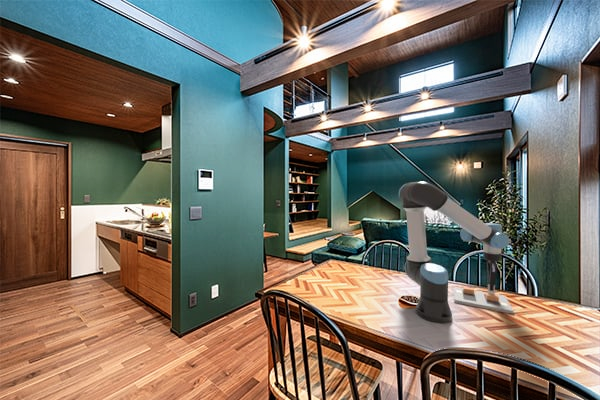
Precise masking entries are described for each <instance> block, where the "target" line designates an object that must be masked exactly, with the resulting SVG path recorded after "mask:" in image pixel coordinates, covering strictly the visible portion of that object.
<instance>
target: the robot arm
mask: <svg viewBox="0 0 600 400" xmlns="http://www.w3.org/2000/svg"><path fill="white" fill-rule="evenodd" d="M398 198H399V200H400V201H401V204H402V209H403V210H404V211H405V214H406V226H407V227H406V228H407V237H408V251H409V255H407V256H406V262H405V263H404V272H405V274H406V276H407V277H408V278H409V279H410V280H411V281H413V282H414V283H416V284H417V285H418V286H419V287H420V288H419V289H420V291H419V292H420V293H419V294H420V295H419V299H418V301H417V304H416V306H415V311H416V312H415V313H416V314H417V315H418V316H419V317H421V318H422V319H424V320H427V321H429V322H432V323H437V324H446V323H450V322H451V321H452V319H453V313H452V310H451V307H450V303H449V301H448V300H449V299H448V298H449V279H450V278H449V273H448V270H447V269H446V268H445V267H443V266H442V265H439V264H436V263H432V259H431V257H430V256H429V255H428V246H427V234H426V223H425V222H426V221H425V209H427V208H428V209H430V210H431V211H433V212H436V211H437V212H438V213H440V214H441V215H443V216H444V217H446V218H447V219H449V220H450V221H451V222H453V223H454V224H455V225H457V226H459V227H460V228H461V229H460V234H459V236H460V238H461V240H462V241H463V242H468V243H476V244H480V245H482V248H483V249H482V251H483V253H482V254H483V255H482V258H483V259H484V260H486V274H487V275H486V276H487V282H486V284H487V293H488V294H493V295H495V294H496V293H495V289H496V285H497V272H498V269H497V268H498V264H497V262H501V261H502V254H501V253H502V250H503V249H505V248H506V247H507V246H508V245H509V243H510V238H509V236H508V235H507V234H506V233H503V227H502V225H501V224H499V223H492V222H490V223H489V222H487V223H485V222H484V221H482V220H480V219H479V218H477V217H476V216H475V215H473V214H472V213H470V212H469V211H467V210H466V209H464V208H463V207H461V206H460V205H458V204H457V203H456V202H455V201H453V200H451V199H450V197H449V195H448V194H447V193H445V192H444V191H442V190H441V189H439V188H438V187H436V186H435V185H433V184H431V183H429V182H426V181H415V182H414V181H411V182H408V183H407V182H406V183H405V184H403V185H402V186H401V187H400V188H399V190H398Z"/></svg>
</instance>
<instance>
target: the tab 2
mask: <svg viewBox="0 0 600 400" xmlns="http://www.w3.org/2000/svg"><path fill="white" fill-rule="evenodd" d="M487 293H488V292H486V299H487V300H490V301H496V302H499V297H498V295H499V294H498V295H493V294H487Z"/></svg>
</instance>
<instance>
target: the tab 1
mask: <svg viewBox="0 0 600 400" xmlns="http://www.w3.org/2000/svg"><path fill="white" fill-rule="evenodd" d="M462 288H463V293H468V294H473V295H474V291H475V289H474V288H473V287H472V288H471V287H466V286H462Z"/></svg>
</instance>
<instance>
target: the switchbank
mask: <svg viewBox="0 0 600 400" xmlns="http://www.w3.org/2000/svg"><path fill="white" fill-rule="evenodd" d="M486 293H487V294H488V292H486V291H485V292H484V291H481V290H474V295H473V294H468V293H463V287H454V286H453V297H454V299H453V301H454V302H453V303H456V304H460V305H465V306H471V307H475V308H481V309H485V310H490V309H491V311H495V310H496V312H500V313H501V312H502V313H505V312H506V314H510V313H511V314H512V315H514V313H515V312H514V309H513V307H512V306H511V305H512V304H510V302H509V300H508V298H507V296H506V295H502V294H498V293H497V294H496V293H495V295H498V297H499V302H496V301H490V300H487V299H486Z"/></svg>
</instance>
